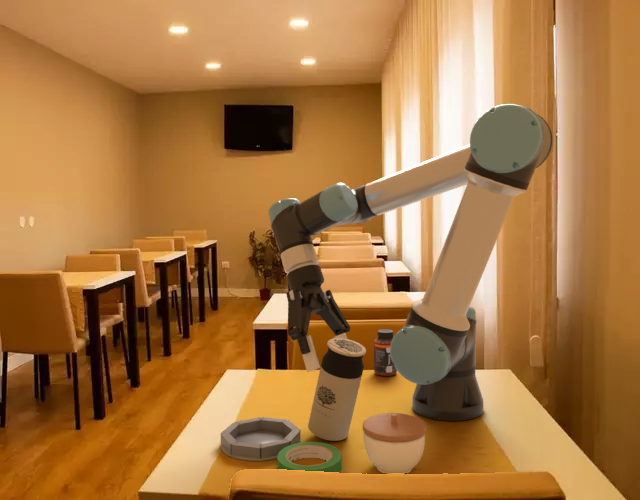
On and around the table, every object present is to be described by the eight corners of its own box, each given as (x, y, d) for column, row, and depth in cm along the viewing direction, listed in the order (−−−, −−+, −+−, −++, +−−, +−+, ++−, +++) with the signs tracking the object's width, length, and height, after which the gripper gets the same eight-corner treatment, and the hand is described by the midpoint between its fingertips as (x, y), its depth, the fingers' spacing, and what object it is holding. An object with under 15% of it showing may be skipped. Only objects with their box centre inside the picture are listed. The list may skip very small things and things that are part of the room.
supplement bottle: (396, 377, 156) (396, 333, 155) (372, 376, 157) (372, 333, 156) (397, 370, 161) (397, 328, 160) (375, 369, 163) (375, 327, 162)
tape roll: (322, 490, 98) (321, 474, 98) (265, 475, 104) (264, 460, 103) (352, 463, 108) (352, 448, 108) (298, 451, 113) (298, 437, 113)
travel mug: (330, 417, 125) (348, 335, 121) (356, 437, 119) (376, 352, 115) (299, 424, 119) (317, 339, 115) (325, 445, 114) (345, 357, 110)
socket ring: (311, 432, 121) (310, 421, 120) (284, 465, 106) (283, 452, 106) (241, 425, 125) (241, 413, 125) (206, 455, 111) (206, 442, 111)
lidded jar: (418, 486, 98) (418, 430, 97) (354, 476, 102) (354, 421, 101) (431, 459, 108) (431, 407, 107) (373, 450, 112) (372, 400, 111)
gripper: (320, 278, 142) (347, 367, 136) (252, 273, 121) (281, 378, 115) (346, 266, 138) (375, 357, 132) (281, 259, 117) (312, 366, 112)
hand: (332, 367), depth 124 cm, fingers open, 13 cm apart
